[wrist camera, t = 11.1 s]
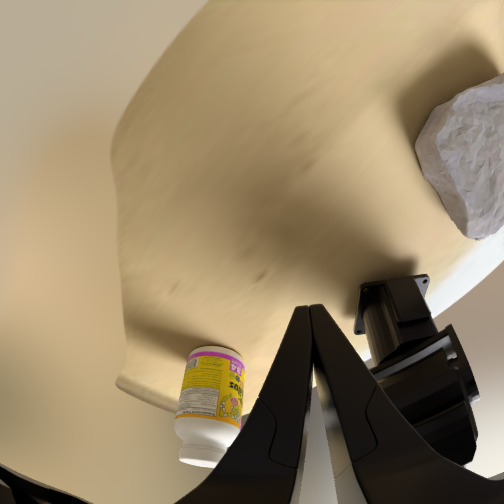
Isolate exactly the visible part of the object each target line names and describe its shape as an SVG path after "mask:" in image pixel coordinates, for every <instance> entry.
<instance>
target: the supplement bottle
mask: <svg viewBox="0 0 504 504" xmlns="http://www.w3.org/2000/svg"><path fill="white" fill-rule="evenodd" d="M244 378H245V362H244V360H243V359H242V357H241V356H240V355H239V354H237V353H236V352H234V351H232V350H230V349H227V348H224V347H219V346H204V347H199V348H197V349H195V350H193V351H192V352H191V353H190V355H189V357H188V361H187V365H186V369H185V374H184V379H183V384H182V389H181V393H180V398H179V403H178V408H177V413H176V418H175V423H174V430H175V432H176V434H177V435H178V436H179V437H180V438H181V439H182V440H183V446H182V447H181V449H180V451H179V460H180V461H182V462H184V463H188V464H192V465H196V466H202V467H211V468H215V467H216V465H217V464H218V463H219V461H220V460H221V458H222V457H223V456H224V454H225V453H226V449H227V447H229V446H231V444H232V443H233V441H234V440H235V438H236V437H237V435H238V434H239V432H240V428H241V416H242V405H243V391H244Z"/></svg>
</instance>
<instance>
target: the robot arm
mask: <svg viewBox="0 0 504 504" xmlns="http://www.w3.org/2000/svg"><path fill="white" fill-rule="evenodd" d="M429 281H430V278H429V276H428V275H427V274H421V275H415V276H408V277H402V278H395V279H388V280H382V281H374V282H367V283H363V284H361V285H360V287H359V294H358V302H357V309H356V316H355V323H354V334H355V335H361V334H366V336H367V340H368V344H369V348H370V352H371V356H372V361H373V365H374V367H373V368H371V369H368V368H367V366H366V365H365V363H364V362H363V360H362V359H361V358H360V356H359V355H358V353H357V352H356V350H355V349H354V348H353V346H352V345H351V343H350V342H349V340H348V339H347V338H346V336H345V335H344V333H343V332H342V331H341V329H340V328H339V326H338V325H337V324H336V322H335V321H334V319H333V318H332V317H331V315H330V314H329V313H328V311H327V310H326V308H325V307H324V306H323V305H322V304H313V305H310V306H307V305H304V306H297V307H295V309H294V312H293V314H292V317H291V319H290V322H289V324H288V327H287V330H286V332H285V334H284V337H283V339H282V342H281V344H280V347H279V349H278V352H277V354H276V356H275V359H274V361H273V363H272V366H271V368H270V370H269V373H268V375H267V377H266V380H265V382H264V384H263V387H262V389H261V391H260V393H259V395H258V397H259V398H257V400H256V402H255V404H254V406H253V408H252V410H251V412H250V415H249V416H248V418H247V420H246V422H245V424H244V425H243V427H242V429H241V430H240V432H239V434H238V435H237V437H236V438H235V440H234V441H233V443H232V444H231V446H230V447H229V449H228V450H227V451H226V453H225V454H224V456H223V457H222V458H221V460H220V461H219V463H218V464H217V465H216V467H215V468H214V469H213V471H212V472H211V473H210V474H209V475H208V476H207V478H206V479H205V480H204V481H203V482H202V483H201V484H199V485H198V486H197V487H196V488H195V489H193V490H192V491H190V492H189V493H188V494H186V495H185V496H184V497H182V498H181V499H180V500H178V501H177V502H175V503H174V504H298V502H299V496H300V490H301V482H302V477H303V470H304V462H305V455H306V454H305V453H306V446H307V437H308V428H309V418H310V407H311V395H312V382H313V367H314V374H315V379H316V384H317V388H318V393H319V398H320V403H321V408H322V413H323V419H324V424H325V429H326V434H327V440H328V446H329V451H330V457H331V463H332V468H333V474H334V479H335V487H336V494H337V500H338V504H504V472H503V473H500V474H498V475H495V476H493V477H490V478H485V477H483V476H480V475H478V474H476V473H474V472H472V471H470V470H468V469H466V468H465V467H466V465H467V464H468V463H470V462H472V460H473V457H474V454H475V451H476V447H477V446H476V440H477V437H478V431H477V427H476V422H475V418H474V415H473V411H472V408H471V405H472V404H474V403H476V402H477V401H479V400H480V395H479V391H478V388H477V385H476V382H475V379H474V376H473V373H472V370H471V368H470V365H469V362H468V360H467V358H466V355H465V353H464V351H463V348H462V346H461V344H460V341H459V339H458V337H457V335H456V333H455V331H454V329H453V327H452V325H451V324H449V325H448V326H446V327H445V329H444V330H442V331H440V332H438V330H437V328H436V326H435V323H434V321H433V319H432V316H431V312H430V310H429V307H428V305H427V303H426V301H425V299H424V297H425V294H426V291H427V288H428V285H429ZM366 288H367V289H366ZM456 355H457V357H456V358H453V357H454V356H456ZM0 504H93V503H90V502H88V501H86V500H84V499H82V498H80V497H77V496H75V495H72V494H70V493H68V492H65V491H62V490H60V489H57V488H54V487H51V486H49V485H46V484H43V483H41V482H38V481H36V480H33V479H31V478H29V477H27V476H25V475H22V474H20V473H18V472H16V471H14V470H12V469H10V468H8V467H6V466H4V465H2V464H0Z"/></svg>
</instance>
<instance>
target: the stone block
mask: <svg viewBox="0 0 504 504" xmlns="http://www.w3.org/2000/svg"><path fill="white" fill-rule="evenodd" d="M415 150H416V154H417V156H418V159H419V162H420V164H421V169H422V173H423V176H424V177H425V178H426V179H427V180H428V181H429V182H430V183H431V185H432V186H433V188H435V189H436V191H437V192H438V194H439V196H440V197H441V201H442V202H443V204H444V206H445V208H446V210H447V212H448V214H449V216H450V218H451V220H452V221H454V223H455V224H456V226H457V228H458V229H459V230H460V231H461V233H462V234H463V235H464V236H465V237H467V238H471V239H475V240H481V239H484V238H486V237H488V236H489V235H491V234H494V233H496V232H497V231H498V230H499V229H500V228H501V227H502V226H503V225H504V73H503V74H501V75H499V76H496V77H495V78H493V79H491V80H489V81H485V82H483V83H481V84H479V85H478V86H474V87H470V88H468V89H466V90H465V91H463V92H461V93H458V94H456V95H455V96H454V98H452V99H451V100H450V101H448V102H445V103H444V104H441V105H438V106H436V107H435V108H434V109H433V110H432V112H431V113H430V115H429V118H428V120H427V122H426V124H425V125H424V127H423V129H422V130H421V132H420V134H419V136H418V138H417V140H416V143H415Z"/></svg>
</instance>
